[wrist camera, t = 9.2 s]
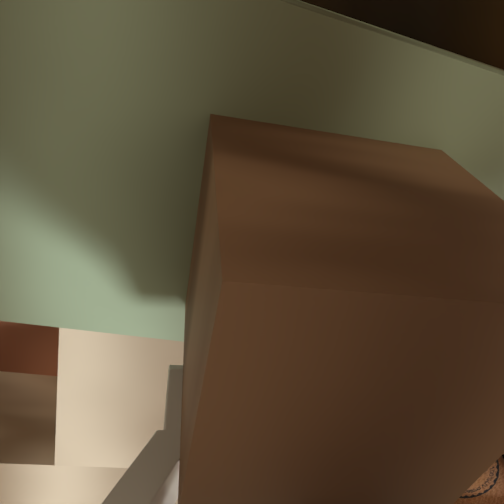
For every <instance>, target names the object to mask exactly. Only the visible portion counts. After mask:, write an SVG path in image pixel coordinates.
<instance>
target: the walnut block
mask: <svg viewBox="0 0 504 504" xmlns="http://www.w3.org/2000/svg"><path fill="white" fill-rule="evenodd" d="M503 453H504V201H503V200H502V199H501V198H500V197H499V196H497V195H496V194H495V193H494V192H492V191H491V190H490V189H489V188H488V187H486V186H485V185H484V184H483V183H481V182H480V181H479V180H478V179H477V178H475V177H474V176H473V175H472V174H470V173H469V172H468V171H467V170H466V169H464V168H463V167H462V166H461V165H459V164H458V163H457V162H456V161H454V160H453V159H452V158H451V157H450V156H448V155H447V154H446V153H445V152H443V151H442V150H438V149H432V148H425V147H419V146H412V145H406V144H400V143H393V142H387V141H381V140H374V139H368V138H362V137H355V136H349V135H342V134H336V133H330V132H323V131H317V130H311V129H304V128H298V127H291V126H285V125H279V124H272V123H266V122H260V121H253V120H247V119H240V118H234V117H228V116H221V115H215V114H210V120H209V128H208V135H207V143H206V151H205V158H204V166H203V174H202V181H201V189H200V197H199V204H198V212H197V220H196V227H195V235H194V243H193V250H192V258H191V265H190V273H189V281H188V288H187V296H186V304H185V328H184V354H183V381H182V409H181V437H180V460H179V487H178V504H453V503H454V502H455V501H456V500H457V499H458V498H459V497H460V496H461V495H462V494H463V493H464V492H465V491H466V490H467V489H468V488H469V487H470V486H471V485H472V484H473V483H474V482H475V481H476V480H477V479H478V478H479V477H480V476H481V475H482V474H483V473H484V472H485V471H486V470H487V469H488V468H489V467H490V466H491V465H492V464H493V463H494V462H495V461H496V460H497V459H498V458H499V457H500V456H501V455H502V454H503Z"/></svg>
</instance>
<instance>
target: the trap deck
mask: <svg viewBox="0 0 504 504" xmlns="http://www.w3.org/2000/svg"><path fill="white" fill-rule="evenodd" d="M210 114H215V115H221V116H228V117H234V118H240V119H247V120H253V121H260V122H266V123H272V124H279V125H285V126H291V127H298V128H304V129H311V130H317V131H323V132H330V133H336V134H342V135H349V136H355V137H362V138H368V139H374V140H381V141H387V142H393V143H400V144H406V145H412V146H419V147H425V148H432V149H438V150H442V151H443V152H445V153H446V154H447V155H448V156H450V157H451V158H452V159H453V160H454V161H456V162H457V163H458V164H459V165H461V166H462V167H463V168H464V169H466V170H467V171H468V172H469V173H470V174H472V175H473V176H474V177H475V178H477V179H478V180H479V181H480V182H481V183H483V184H484V185H485V186H486V187H488V188H489V189H490V190H491V191H492V192H494V193H495V194H496V195H497V196H499V197H500V198H501V199H502V200H503V201H504V70H503V69H500V68H497V67H494V66H491V65H488V64H485V63H482V62H479V61H476V60H473V59H470V58H467V57H465V56H462V55H459V54H456V53H453V52H450V51H447V50H444V49H441V48H438V47H435V46H432V45H429V44H426V43H423V42H421V41H418V40H415V39H412V38H409V37H406V36H403V35H400V34H397V33H394V32H391V31H388V30H385V29H382V28H379V27H377V26H374V25H371V24H368V23H365V22H362V21H359V20H356V19H353V18H350V17H347V16H344V15H341V14H338V13H336V12H333V11H330V10H327V9H324V8H321V7H318V6H315V5H312V4H309V3H306V2H303V1H300V0H0V504H102V502H103V501H104V500H105V498H106V497H107V496H108V494H109V493H110V492H111V490H112V489H113V488H114V487H115V485H116V484H117V483H118V481H119V480H120V479H121V477H122V476H123V475H124V473H125V472H126V471H127V469H128V468H129V467H130V465H131V464H132V463H133V461H134V460H135V459H136V457H137V456H138V455H139V453H140V452H141V451H142V450H143V448H144V447H145V446H146V444H147V443H148V442H149V440H150V439H151V438H152V436H153V435H154V434H155V432H156V431H157V430H163V425H164V412H165V401H166V390H167V379H168V369H169V365H183V354H184V328H185V304H186V296H187V288H188V281H189V273H190V265H191V258H192V250H193V243H194V235H195V227H196V220H197V212H198V204H199V197H200V189H201V181H202V174H203V166H204V158H205V151H206V143H207V135H208V128H209V120H210ZM175 504H178V499H177V501H176V503H175Z"/></svg>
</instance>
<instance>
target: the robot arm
mask: <svg viewBox="0 0 504 504" xmlns="http://www.w3.org/2000/svg"><path fill="white" fill-rule="evenodd" d="M182 381H183V365H169V369H168V379H167V390H166V401H165V412H164V425H163V430H157V431H156V432H155V434H154V435H153V436H152V438H151V439H150V440H149V442H148V443H147V444H146V446H145V447H144V448H143V450H142V451H141V452H140V453H139V455H138V456H137V457H136V459H135V460H134V461H133V463H132V464H131V465H130V467H129V468H128V469H127V471H126V472H125V473H124V475H123V476H122V477H121V479H120V480H119V481H118V483H117V484H116V485H115V487H114V488H113V489H112V490H111V492H110V493H109V494H108V496H107V497H106V498H105V500H104V501H103V502H102V504H175V503H176V501H177V499H178V487H179V460H180V437H181V409H182Z"/></svg>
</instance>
